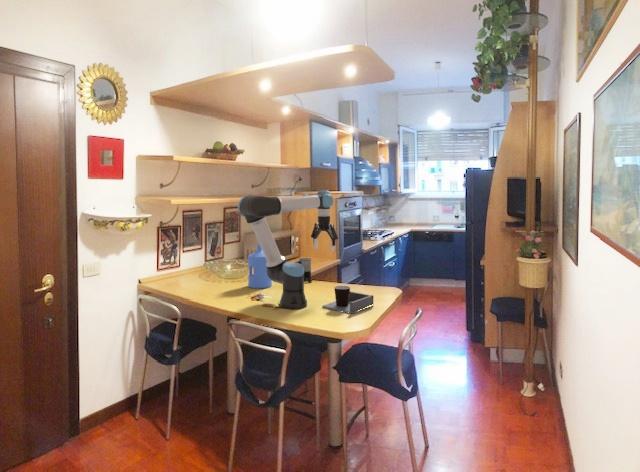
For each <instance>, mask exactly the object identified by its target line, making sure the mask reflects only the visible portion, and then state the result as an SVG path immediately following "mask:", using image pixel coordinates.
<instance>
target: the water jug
mask: <svg viewBox="0 0 640 472" xmlns="http://www.w3.org/2000/svg"><path fill="white" fill-rule="evenodd" d="M256 247H257V249H256V251H254V252H251V254H249V255H248V256H247V266H248V270H249V271H248V276H247V277H248V284H247V285H248V288H250V289H256V290H257V289H259V290H260V289H267V288H271V287H272V285H273V281H272V280H270V279H269V278H268V276H267V274H266V269H267V267H266V263H267V260H266V258H265V255H264V253H263V251H262V249H261V246H260V244H259V243H258V244H257V246H256Z"/></svg>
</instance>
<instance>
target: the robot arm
mask: <svg viewBox="0 0 640 472" xmlns="http://www.w3.org/2000/svg"><path fill="white" fill-rule="evenodd" d="M333 205H334V198H333V195H331V192H330V191H329V190H317V193H305V194H302V195H299V196H289V197H278V196H266V195H253V194H248V195H245V196H243V197H241V198H240V199H239V201H238V203H237V210H238V213H239V214H240V216H242V217H244V218H245V221H246V223H247V224H249V225H251V228H252V230H253V232H254V235H255V237H256V239H257V241H258V244H260V246H261V249H262V251H263V253H264V255H265V258H266V260H267V263H266V267H267V269H266V274H267V276H268V278H269V279H270V280H272V282H274V283H278V284H281V285H282V293H281V297H280V300H279V307H280V306H281V307H280V308H283V309H288V310H289V309H290V310H296V309H298V310H299V309H303V308H306V307H307V306H308V300H307V299H306V295H305V280H304V267H303V265H301V264H299V263H295V262H293V261H289V262H288V261H287V260H286V258H285V255H284V256H283V255H281V252H280V250H279V248H278V245H277V242H276V241H275V237H274V236H273V233H272V231H271V229H270V226H269V223H268V222H267V219H266V218H267V217H272V216H276V215H280V214H281V213H287V212H296V211H302V210H310V209H311V210H313V209H317V215H318V216H317V222H315V223H314V226H313V230H312V232H311V235H310V238H312V239H313V249H314V250H319V238H318V237H319V235H320V234H321V233H322V232H326V233H327V235H328V237H329V238H330V239H331V240H330V251H331V252H335V251H336V249H335V246H336V241H337V240H339V237H338V234H337V232H336V229H335V224H334V223H330V222H331V207H333Z"/></svg>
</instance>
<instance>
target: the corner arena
mask: <svg viewBox="0 0 640 472" xmlns="http://www.w3.org/2000/svg"><path fill="white" fill-rule="evenodd" d="M372 304H373V305H374V295H372V294H366V293H360V292H356V291H351V290H350V293H349V302H348V306H347V307H338V306H336V300H335V301H333V302H330V303H327V304H324V305H322V307H321V308H322V309H326V308H327V310H331V309H332V310H333V311H335V310H337V311H336V312H340V311H343V312H342V313H344V312H349V313H354V312H356V311H358V310H360V309H363V308H365V307H367V306H369V305H372ZM332 310H331V311H332ZM349 313H348V314H349Z"/></svg>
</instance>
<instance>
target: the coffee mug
mask: <svg viewBox="0 0 640 472" xmlns="http://www.w3.org/2000/svg"><path fill="white" fill-rule="evenodd" d="M333 289H334V294H335V301H336V306H338V307H347V306H348V302H349V293H350V291H351V287H350V286H349V285H336V286H334V288H333Z"/></svg>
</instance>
